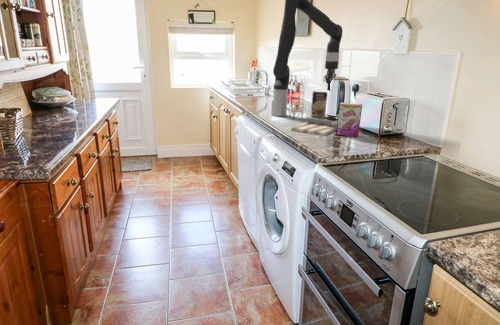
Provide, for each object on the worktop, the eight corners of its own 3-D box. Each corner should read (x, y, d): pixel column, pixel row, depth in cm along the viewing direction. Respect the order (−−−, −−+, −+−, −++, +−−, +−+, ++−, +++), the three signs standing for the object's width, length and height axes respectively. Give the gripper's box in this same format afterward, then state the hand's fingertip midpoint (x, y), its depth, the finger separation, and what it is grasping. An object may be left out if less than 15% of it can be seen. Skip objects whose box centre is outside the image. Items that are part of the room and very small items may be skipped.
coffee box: (310, 117, 223) (312, 92, 218) (310, 115, 229) (312, 91, 224) (325, 117, 222) (327, 92, 217) (324, 116, 228) (326, 91, 223)
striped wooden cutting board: (291, 130, 187) (291, 126, 186) (310, 122, 206) (310, 119, 206) (324, 135, 177) (325, 132, 176) (341, 127, 196) (341, 124, 196)
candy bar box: (335, 135, 178) (339, 103, 173) (336, 133, 182) (339, 102, 177) (358, 137, 175) (362, 105, 169) (358, 135, 179) (362, 103, 174)
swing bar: (304, 121, 198) (304, 118, 198) (307, 120, 201) (307, 117, 200) (335, 126, 188) (336, 122, 188) (338, 125, 191) (338, 121, 191)
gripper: (330, 60, 209) (327, 88, 214) (321, 60, 198) (319, 90, 204) (342, 60, 205) (339, 89, 210) (334, 61, 194) (331, 91, 200)
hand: (329, 90), depth 207 cm, fingers closed
